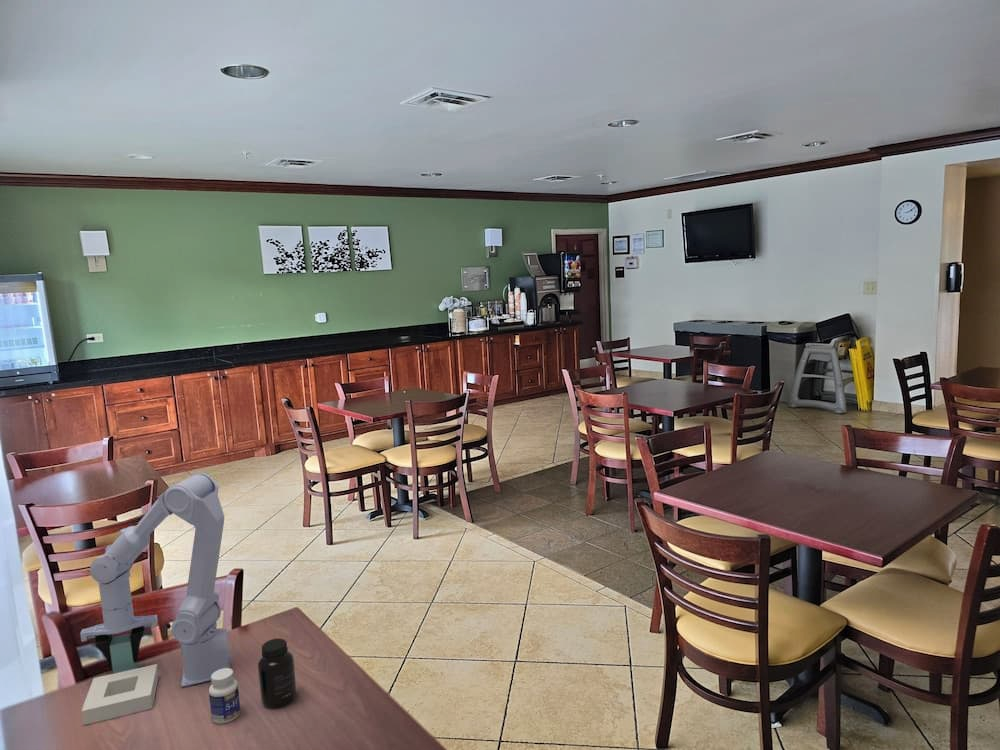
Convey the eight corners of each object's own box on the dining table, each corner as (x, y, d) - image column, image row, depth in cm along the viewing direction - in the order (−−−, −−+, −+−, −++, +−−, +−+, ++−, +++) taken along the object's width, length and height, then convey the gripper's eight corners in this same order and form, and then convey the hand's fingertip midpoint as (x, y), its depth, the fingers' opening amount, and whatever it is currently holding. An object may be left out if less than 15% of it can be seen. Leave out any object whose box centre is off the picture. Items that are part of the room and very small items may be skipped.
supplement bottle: (255, 700, 134) (249, 645, 132) (286, 684, 138) (281, 631, 137) (272, 714, 129) (266, 657, 127) (303, 697, 134) (298, 642, 132)
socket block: (158, 676, 143) (157, 664, 143) (152, 708, 132) (150, 694, 132) (95, 691, 139) (93, 678, 139) (83, 725, 128) (81, 711, 128)
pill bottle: (230, 725, 126) (225, 683, 125) (205, 723, 127) (201, 680, 126) (246, 708, 131) (241, 667, 130) (222, 706, 132) (218, 665, 131)
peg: (137, 665, 148) (133, 632, 147) (134, 675, 144) (130, 641, 143) (117, 670, 147) (112, 636, 146) (114, 680, 143) (109, 645, 142)
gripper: (156, 590, 150) (162, 645, 152) (82, 604, 144) (90, 661, 146) (152, 603, 143) (159, 661, 145) (75, 618, 138) (83, 678, 140)
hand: (124, 662), depth 145 cm, fingers closed on peg, 4 cm apart
